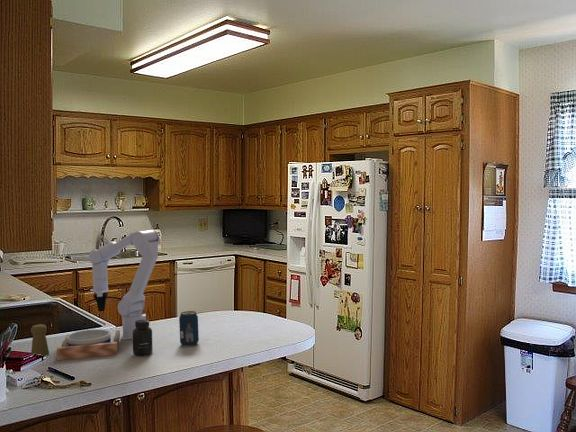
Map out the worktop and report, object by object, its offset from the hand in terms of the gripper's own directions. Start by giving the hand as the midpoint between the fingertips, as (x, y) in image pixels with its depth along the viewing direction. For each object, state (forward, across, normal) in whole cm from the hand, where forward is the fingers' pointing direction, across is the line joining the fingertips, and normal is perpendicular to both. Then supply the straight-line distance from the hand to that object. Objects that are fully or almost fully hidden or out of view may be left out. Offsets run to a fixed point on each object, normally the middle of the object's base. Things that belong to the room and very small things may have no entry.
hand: (101, 311), depth 227 cm
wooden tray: (+9, +19, -3) cm, 21 cm away
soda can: (+10, +29, +33) cm, 45 cm away
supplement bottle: (+10, +36, +16) cm, 41 cm away
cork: (+10, +24, -20) cm, 33 cm away
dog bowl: (+10, +23, -3) cm, 26 cm away
